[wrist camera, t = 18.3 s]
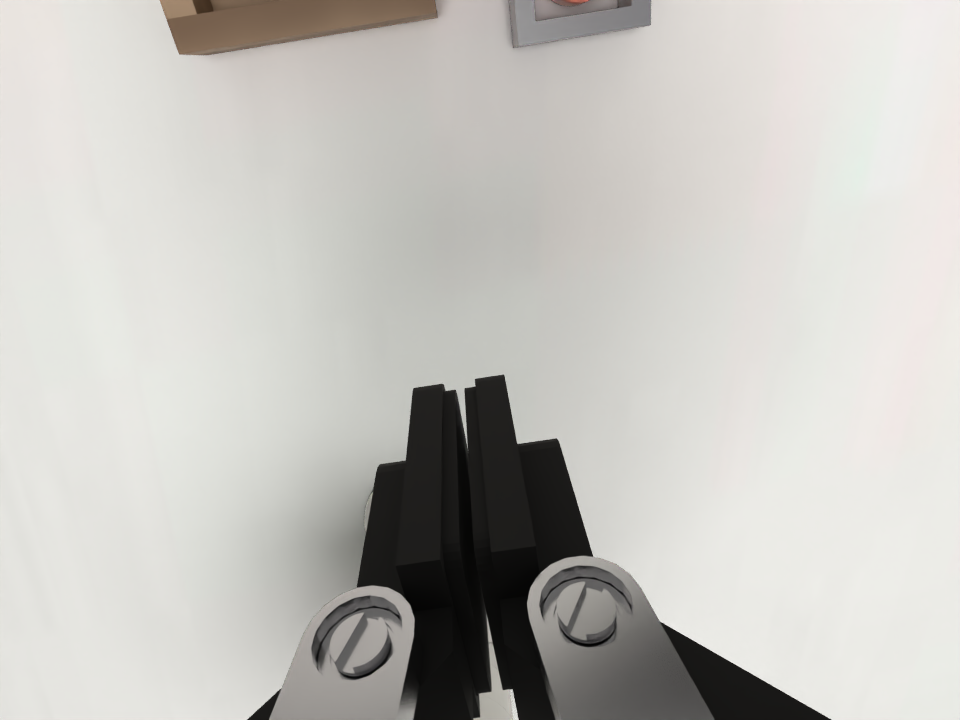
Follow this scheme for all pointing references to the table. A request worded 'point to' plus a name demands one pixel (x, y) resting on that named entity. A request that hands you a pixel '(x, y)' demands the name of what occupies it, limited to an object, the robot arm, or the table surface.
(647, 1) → the button housing
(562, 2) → the button
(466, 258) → the table surface
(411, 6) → the tray
